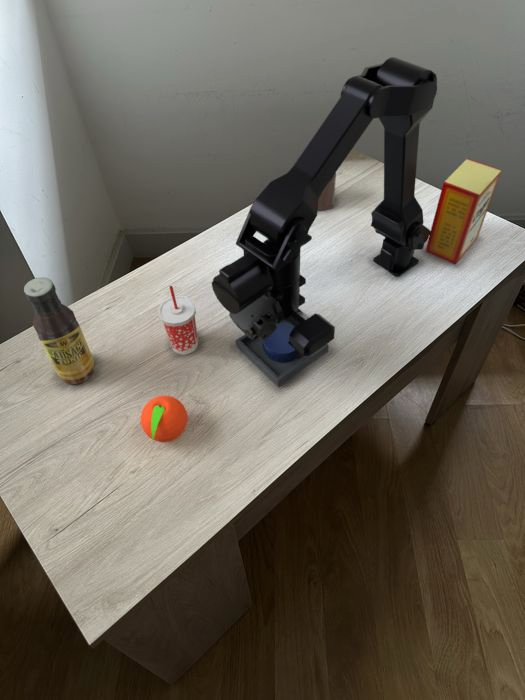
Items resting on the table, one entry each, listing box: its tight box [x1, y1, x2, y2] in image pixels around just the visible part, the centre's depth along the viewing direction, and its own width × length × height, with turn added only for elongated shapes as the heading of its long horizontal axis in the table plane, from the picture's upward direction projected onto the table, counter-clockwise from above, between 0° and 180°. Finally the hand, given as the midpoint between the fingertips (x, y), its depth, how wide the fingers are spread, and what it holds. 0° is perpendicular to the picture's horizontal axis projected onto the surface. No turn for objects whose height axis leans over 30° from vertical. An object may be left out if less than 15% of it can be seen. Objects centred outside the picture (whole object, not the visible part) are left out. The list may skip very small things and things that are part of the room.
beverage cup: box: [157, 285, 199, 355], centre depth 85 cm, size 6×6×14 cm
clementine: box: [140, 395, 188, 443], centre depth 77 cm, size 8×7×7 cm
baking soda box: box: [425, 158, 503, 265], centre depth 98 cm, size 10×6×16 cm
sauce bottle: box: [23, 276, 95, 385], centre depth 80 cm, size 7×6×20 cm
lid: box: [263, 323, 296, 363], centre depth 88 cm, size 7×7×2 cm
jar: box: [318, 172, 337, 212], centre depth 111 cm, size 6×6×9 cm
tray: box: [235, 318, 329, 388], centre depth 89 cm, size 11×11×2 cm
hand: (281, 342), depth 88 cm, fingers open, 9 cm apart
